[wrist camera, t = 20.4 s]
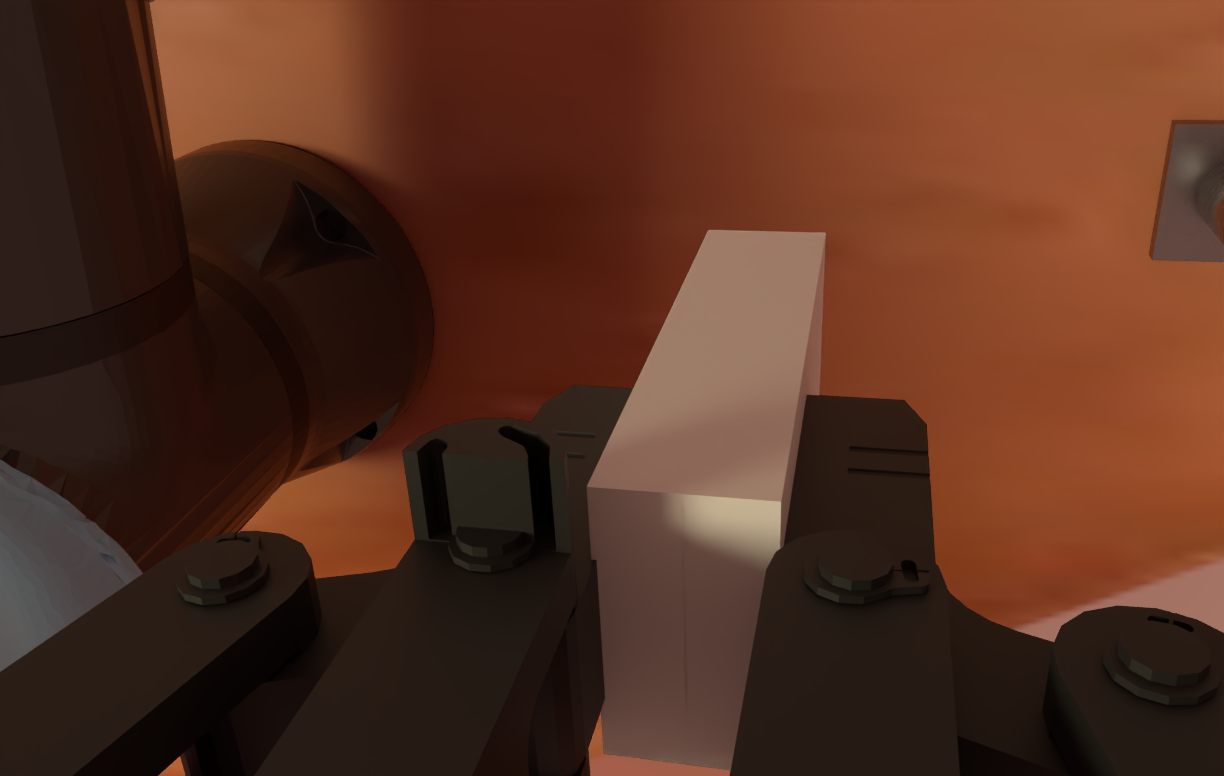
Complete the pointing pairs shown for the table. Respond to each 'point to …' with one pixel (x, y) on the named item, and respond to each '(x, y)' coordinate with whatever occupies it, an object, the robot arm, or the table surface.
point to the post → (1191, 195)
